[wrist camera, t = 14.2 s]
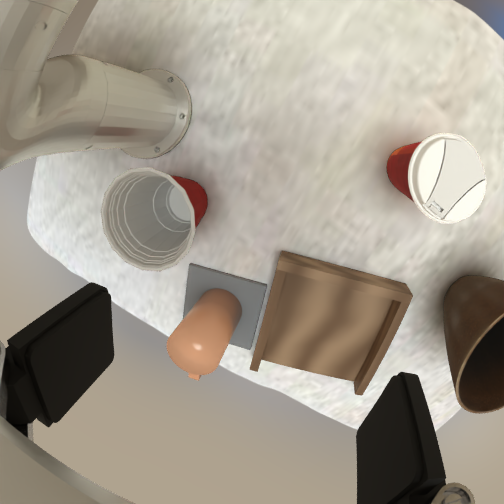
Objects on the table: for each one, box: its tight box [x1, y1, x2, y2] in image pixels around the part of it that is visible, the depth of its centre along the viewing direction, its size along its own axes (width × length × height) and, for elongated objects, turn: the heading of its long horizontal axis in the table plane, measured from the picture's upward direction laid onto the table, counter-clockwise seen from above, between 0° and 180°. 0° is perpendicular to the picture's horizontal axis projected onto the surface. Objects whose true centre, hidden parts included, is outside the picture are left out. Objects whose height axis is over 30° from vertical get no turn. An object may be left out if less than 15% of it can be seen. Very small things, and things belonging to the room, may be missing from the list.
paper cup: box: [387, 133, 486, 224], centre depth 26 cm, size 8×8×14 cm
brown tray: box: [250, 251, 413, 395], centre depth 40 cm, size 17×17×4 cm
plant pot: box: [444, 276, 504, 414], centre depth 28 cm, size 15×15×16 cm
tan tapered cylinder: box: [167, 288, 242, 380], centre depth 39 cm, size 9×6×11 cm
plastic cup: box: [101, 167, 207, 271], centre depth 34 cm, size 11×11×12 cm
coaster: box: [183, 263, 267, 350], centre depth 44 cm, size 11×11×1 cm
